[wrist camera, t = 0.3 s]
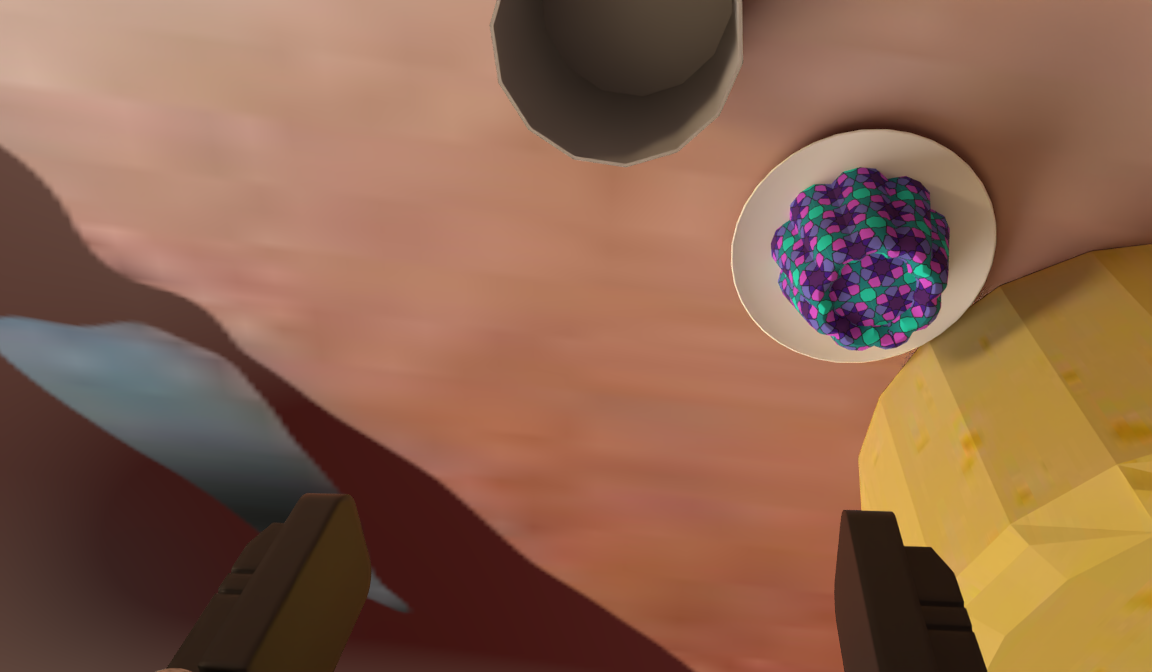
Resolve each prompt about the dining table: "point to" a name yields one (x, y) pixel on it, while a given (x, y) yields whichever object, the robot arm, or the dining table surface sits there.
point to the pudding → (863, 245)
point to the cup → (617, 72)
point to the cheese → (1034, 464)
